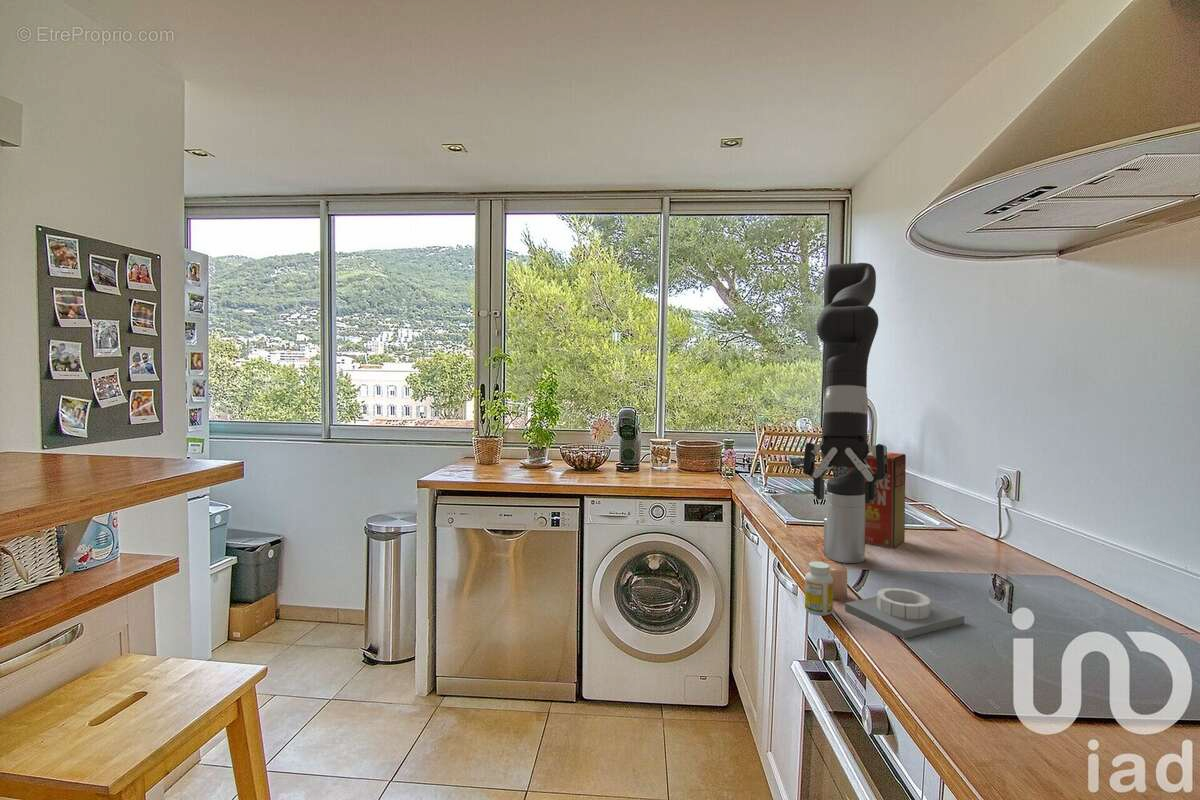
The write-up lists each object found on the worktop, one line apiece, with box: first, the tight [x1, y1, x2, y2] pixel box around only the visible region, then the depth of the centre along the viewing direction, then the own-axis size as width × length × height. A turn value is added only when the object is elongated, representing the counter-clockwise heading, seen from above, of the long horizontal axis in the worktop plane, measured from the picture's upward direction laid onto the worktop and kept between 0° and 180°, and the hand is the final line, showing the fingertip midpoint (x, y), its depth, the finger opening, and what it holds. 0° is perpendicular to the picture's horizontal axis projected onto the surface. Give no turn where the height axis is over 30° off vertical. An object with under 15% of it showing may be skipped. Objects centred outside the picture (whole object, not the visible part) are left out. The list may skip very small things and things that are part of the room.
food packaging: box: [846, 451, 907, 549], centre depth 168 cm, size 13×9×25 cm
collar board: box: [844, 587, 965, 639], centre depth 118 cm, size 14×16×4 cm
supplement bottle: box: [804, 561, 834, 617], centre depth 121 cm, size 5×5×10 cm
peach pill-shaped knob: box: [829, 563, 848, 601], centre depth 129 cm, size 5×5×6 cm
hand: (843, 501), depth 108 cm, fingers open, 8 cm apart
